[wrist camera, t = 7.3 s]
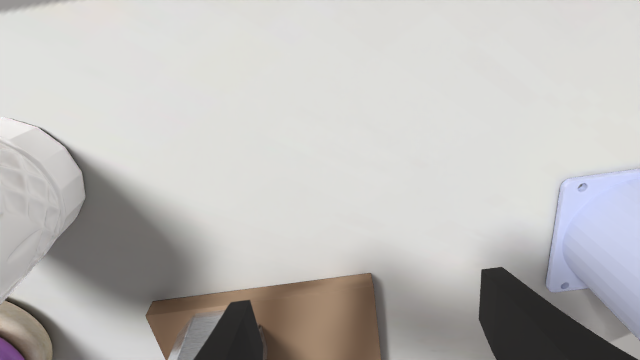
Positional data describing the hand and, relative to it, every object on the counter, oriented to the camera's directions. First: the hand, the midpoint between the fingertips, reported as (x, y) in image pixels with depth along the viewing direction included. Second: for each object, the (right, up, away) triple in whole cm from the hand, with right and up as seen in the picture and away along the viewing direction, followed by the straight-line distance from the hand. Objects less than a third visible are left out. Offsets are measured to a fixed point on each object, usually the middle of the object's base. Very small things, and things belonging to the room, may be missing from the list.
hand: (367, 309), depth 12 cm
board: (-4, -8, +15) cm, 17 cm away
